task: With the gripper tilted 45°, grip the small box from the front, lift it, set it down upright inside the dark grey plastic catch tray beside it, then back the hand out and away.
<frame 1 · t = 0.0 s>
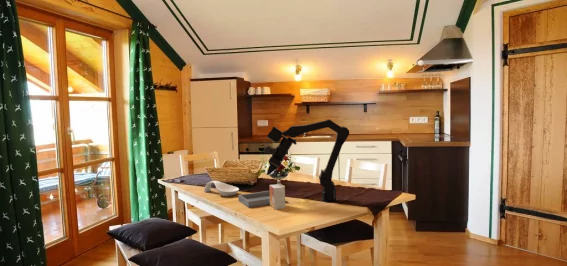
hand: (268, 173, 195), 15 cm above the table, tool tilted 35°, fingers open, 9 cm apart
spoon rest: (221, 194, 217), on the table
small box: (277, 207, 186), on the table
catch tray: (261, 201, 197), on the table
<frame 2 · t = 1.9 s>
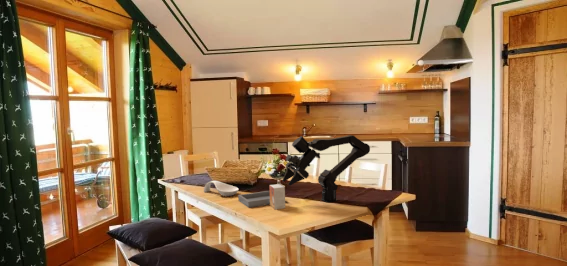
hand: (285, 183, 186), 11 cm above the table, tool tilted 45°, fingers open, 9 cm apart
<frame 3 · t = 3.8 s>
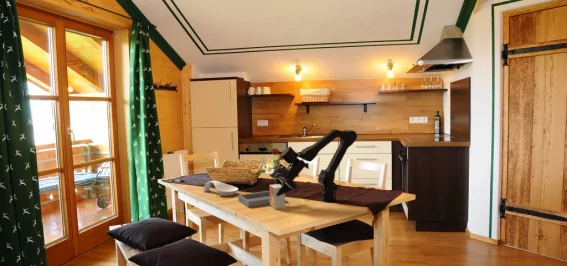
hand: (274, 193, 185), 7 cm above the table, tool tilted 45°, fingers closed on small box, 8 cm apart
small box: (277, 207, 186), on the table, touching gripper
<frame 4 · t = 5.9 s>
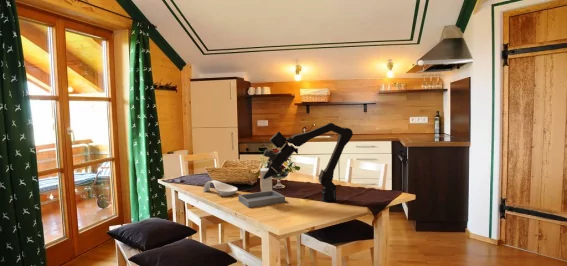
hand: (263, 177, 190), 14 cm above the table, tool tilted 45°, fingers closed on small box, 8 cm apart
small box: (266, 190, 191), point 7 cm above the table, touching gripper
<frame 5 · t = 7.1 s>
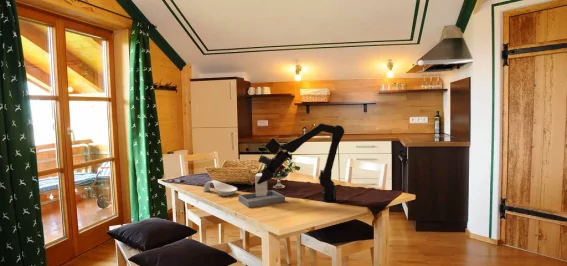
hand: (258, 182, 196), 10 cm above the table, tool tilted 45°, fingers closed on small box, 8 cm apart
small box: (261, 194, 197), point 3 cm above the table, touching gripper
when the fingers open (9 cm above the table, at t = 8.1 s): small box drops 1 cm, resting on catch tray.
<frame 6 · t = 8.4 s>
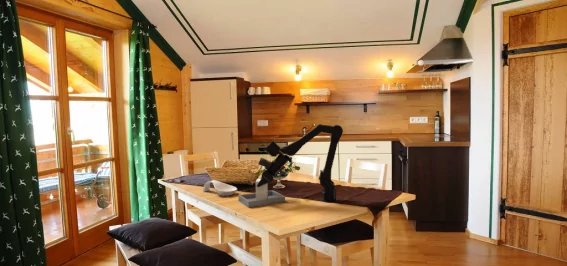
hand: (258, 184, 196), 9 cm above the table, tool tilted 45°, fingers open, 9 cm apart
small box: (261, 200, 197), point 1 cm above the table, touching catch tray
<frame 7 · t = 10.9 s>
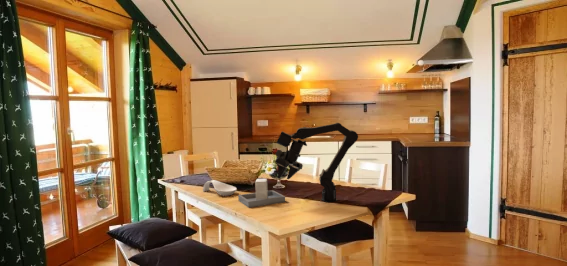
hand: (283, 178, 194), 12 cm above the table, tool tilted 25°, fingers open, 9 cm apart
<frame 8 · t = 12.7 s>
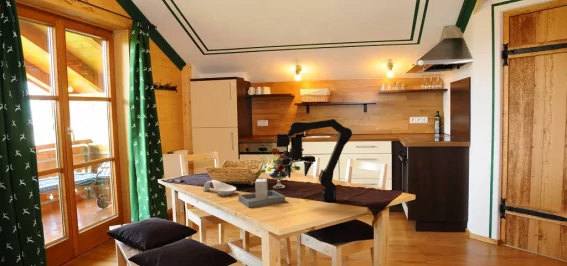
hand: (297, 176, 193), 13 cm above the table, tool pointing down, fingers open, 9 cm apart
at the end: small box inside the target area on the catch tray (0.2 cm from its centre), point 0.6 cm above the catch tray's base; small box tilted 0°; the gripper is holding nothing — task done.
